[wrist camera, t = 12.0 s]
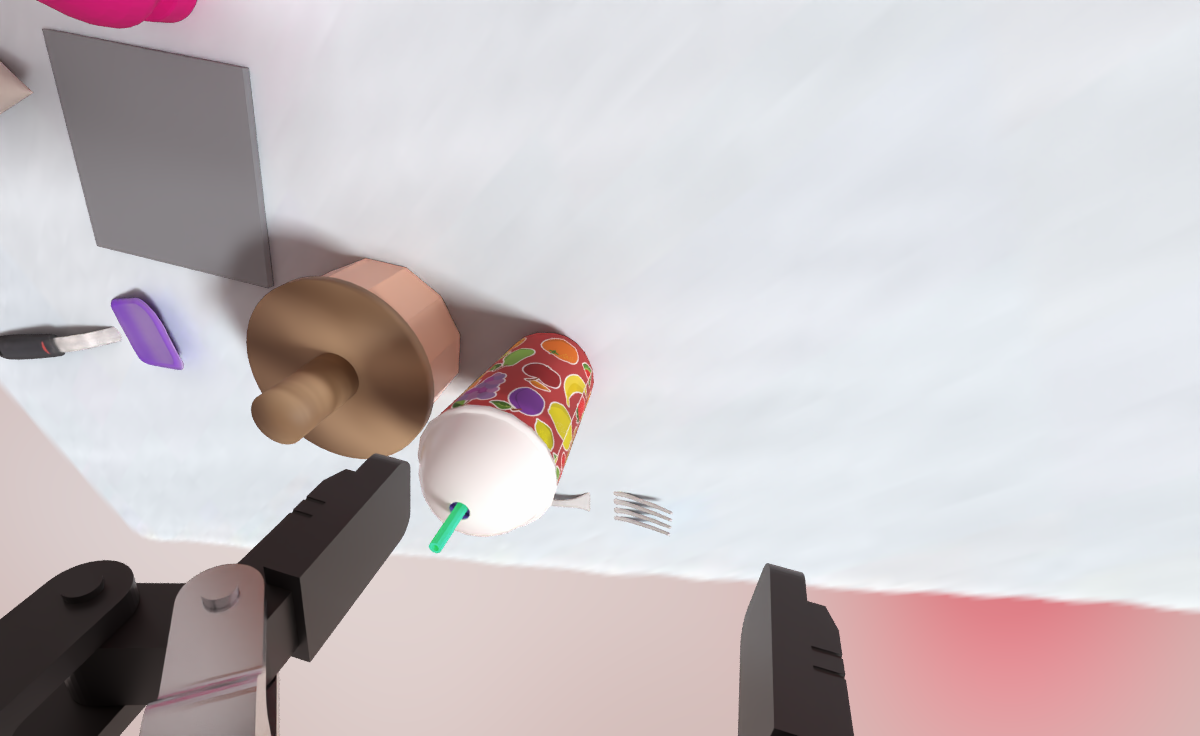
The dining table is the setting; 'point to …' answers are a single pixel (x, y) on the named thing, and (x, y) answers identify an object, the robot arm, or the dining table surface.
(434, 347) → the bowl
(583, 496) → the fork
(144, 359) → the spatula
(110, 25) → the pepper mill
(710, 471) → the dining table surface
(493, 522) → the smoothie
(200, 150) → the mat
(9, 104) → the ice cream cone
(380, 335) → the lid
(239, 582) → the robot arm
